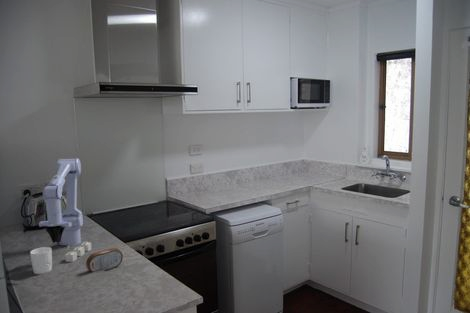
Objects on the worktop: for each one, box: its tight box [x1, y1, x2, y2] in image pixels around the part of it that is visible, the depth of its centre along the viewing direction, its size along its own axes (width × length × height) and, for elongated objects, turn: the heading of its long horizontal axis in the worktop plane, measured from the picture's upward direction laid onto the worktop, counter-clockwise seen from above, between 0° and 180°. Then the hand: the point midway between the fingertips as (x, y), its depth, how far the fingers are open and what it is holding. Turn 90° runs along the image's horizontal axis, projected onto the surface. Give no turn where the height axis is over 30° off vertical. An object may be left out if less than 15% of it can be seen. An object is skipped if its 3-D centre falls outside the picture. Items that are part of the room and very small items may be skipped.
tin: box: [85, 247, 124, 273], centre depth 152 cm, size 15×3×8 cm, turn 131°
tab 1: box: [64, 250, 78, 263], centre depth 160 cm, size 4×3×4 cm
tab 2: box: [72, 245, 86, 257], centre depth 166 cm, size 4×3×4 cm
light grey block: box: [80, 240, 93, 252], centre depth 172 cm, size 4×3×4 cm
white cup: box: [29, 246, 53, 275], centre depth 150 cm, size 8×8×10 cm
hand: (56, 242), depth 160 cm, fingers closed
